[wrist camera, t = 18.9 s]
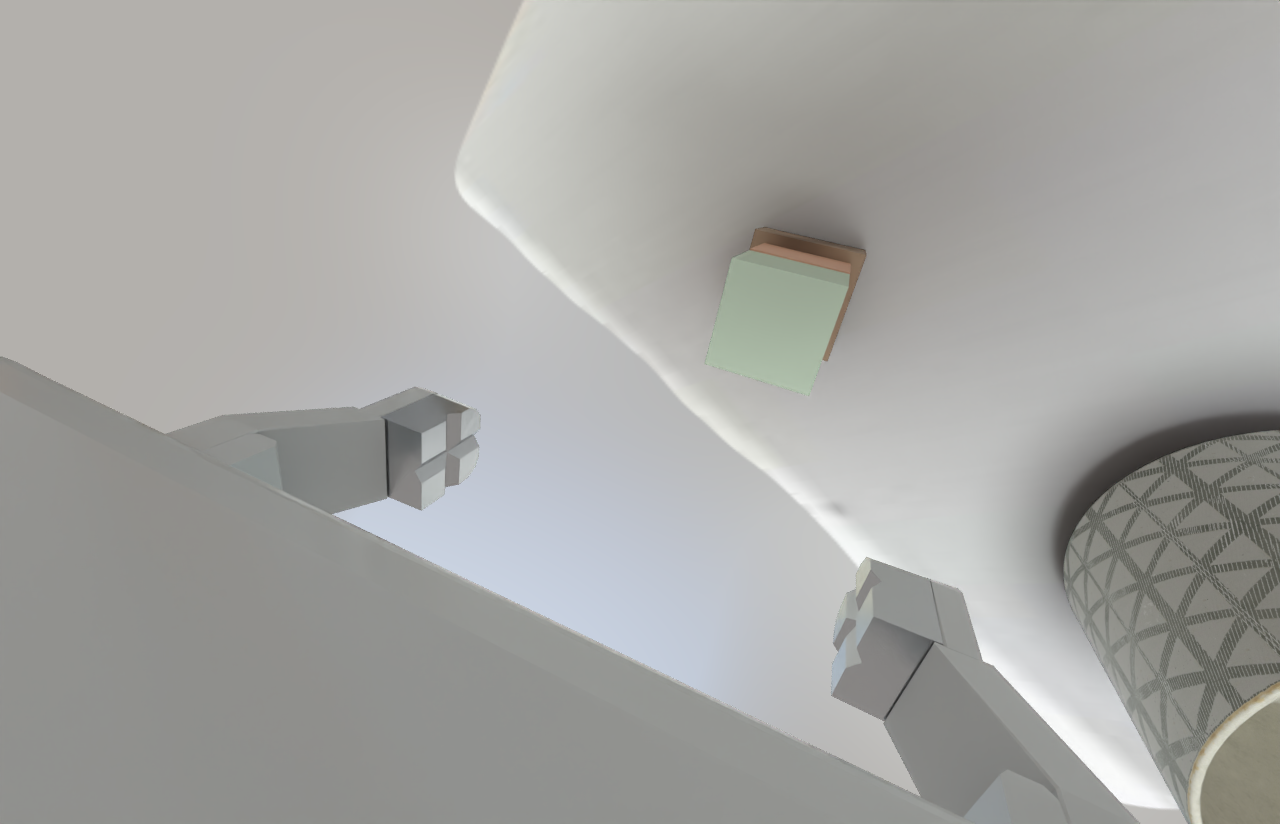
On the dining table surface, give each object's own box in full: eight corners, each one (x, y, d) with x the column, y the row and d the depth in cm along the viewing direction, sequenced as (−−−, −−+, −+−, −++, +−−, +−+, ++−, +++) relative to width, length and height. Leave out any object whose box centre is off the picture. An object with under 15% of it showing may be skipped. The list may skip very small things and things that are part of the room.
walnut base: (865, 250, 35) (866, 255, 31) (829, 347, 38) (827, 361, 34) (764, 227, 37) (755, 229, 33) (738, 321, 40) (727, 332, 36)
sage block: (849, 274, 27) (848, 286, 23) (815, 368, 30) (809, 396, 26) (750, 250, 29) (731, 257, 25) (725, 342, 31) (704, 363, 27)
